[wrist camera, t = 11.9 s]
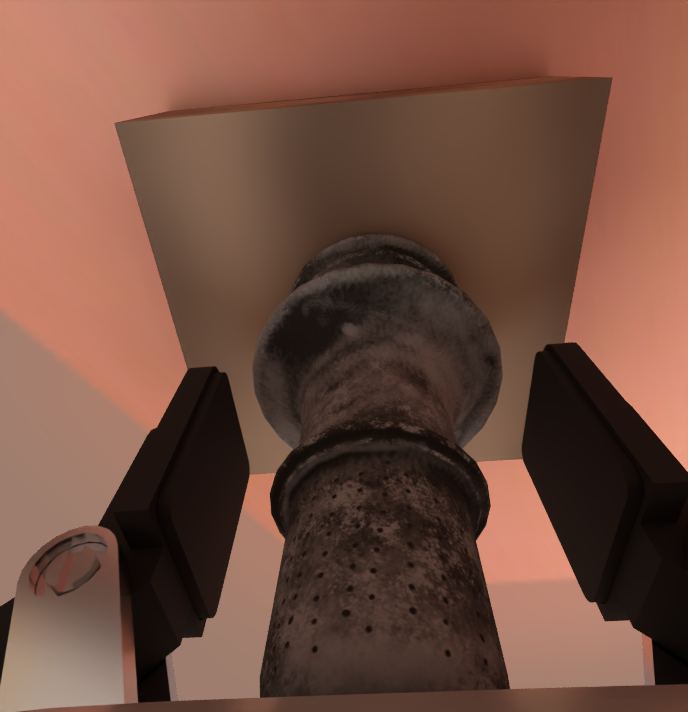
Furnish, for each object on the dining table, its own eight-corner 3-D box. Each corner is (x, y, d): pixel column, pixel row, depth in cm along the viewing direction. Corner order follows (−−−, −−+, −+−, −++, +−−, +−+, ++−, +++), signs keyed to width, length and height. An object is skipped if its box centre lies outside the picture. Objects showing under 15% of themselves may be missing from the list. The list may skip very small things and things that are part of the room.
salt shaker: (444, 413, 16) (591, 1042, 5) (269, 385, 16) (69, 986, 5) (500, 241, 13) (1051, 877, 2) (286, 205, 13) (-89, 738, 2)
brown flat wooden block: (549, 76, 15) (612, 77, 11) (510, 393, 21) (543, 457, 17) (167, 111, 15) (114, 123, 12) (240, 410, 21) (219, 476, 18)
